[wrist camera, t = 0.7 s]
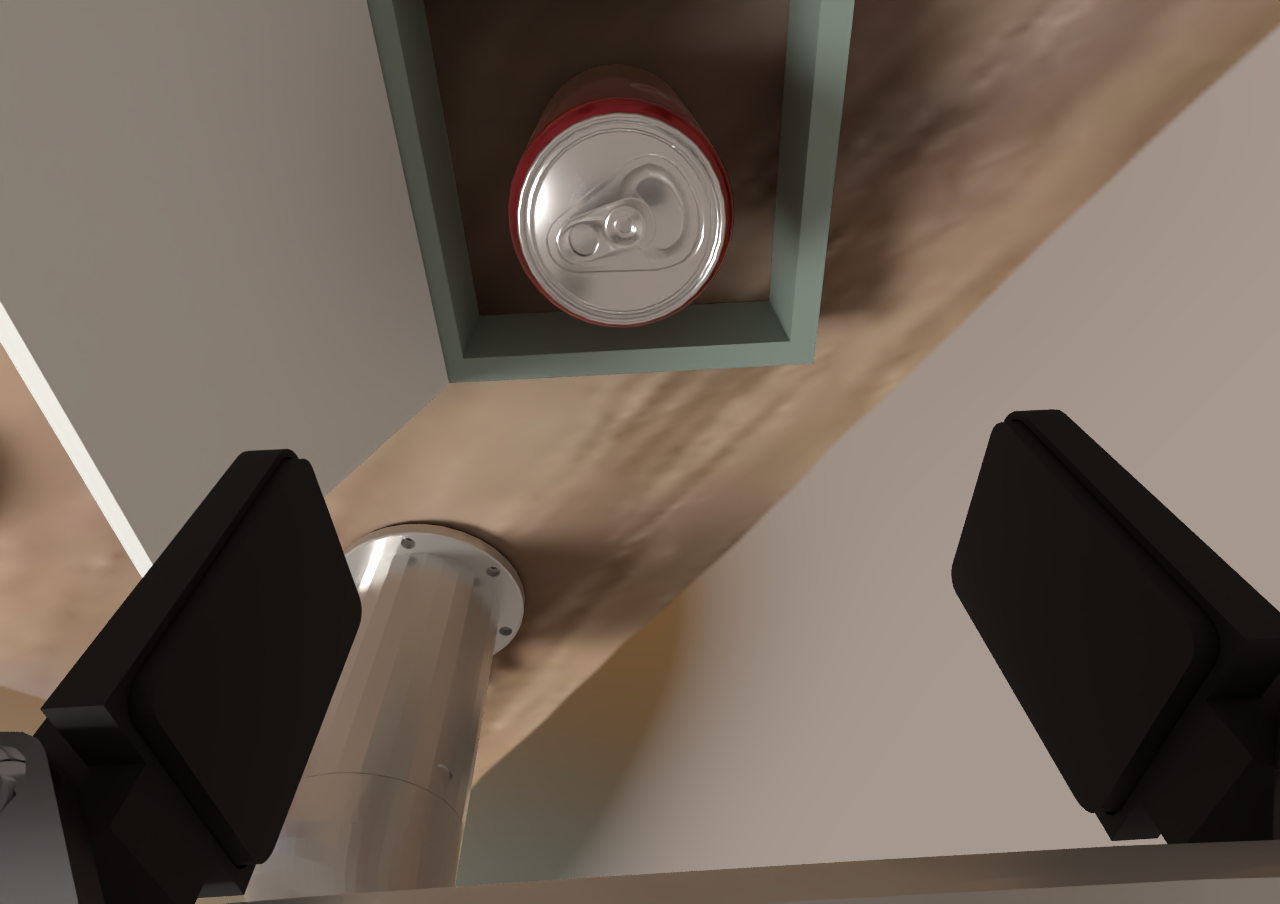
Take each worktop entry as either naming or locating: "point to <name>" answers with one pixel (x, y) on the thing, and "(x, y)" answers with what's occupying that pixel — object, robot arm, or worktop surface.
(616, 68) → the soda can
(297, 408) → the open hinged box
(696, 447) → the worktop surface
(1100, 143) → the worktop surface
